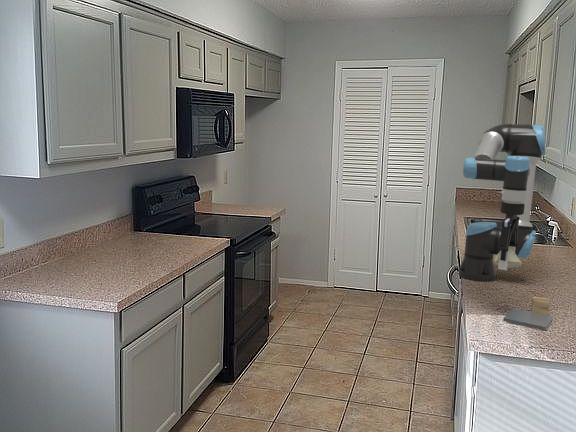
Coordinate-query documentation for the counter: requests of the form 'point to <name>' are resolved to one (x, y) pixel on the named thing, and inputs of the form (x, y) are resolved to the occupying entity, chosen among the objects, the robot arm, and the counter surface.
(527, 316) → the plate
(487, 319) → the counter surface
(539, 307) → the oak block
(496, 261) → the seashell
